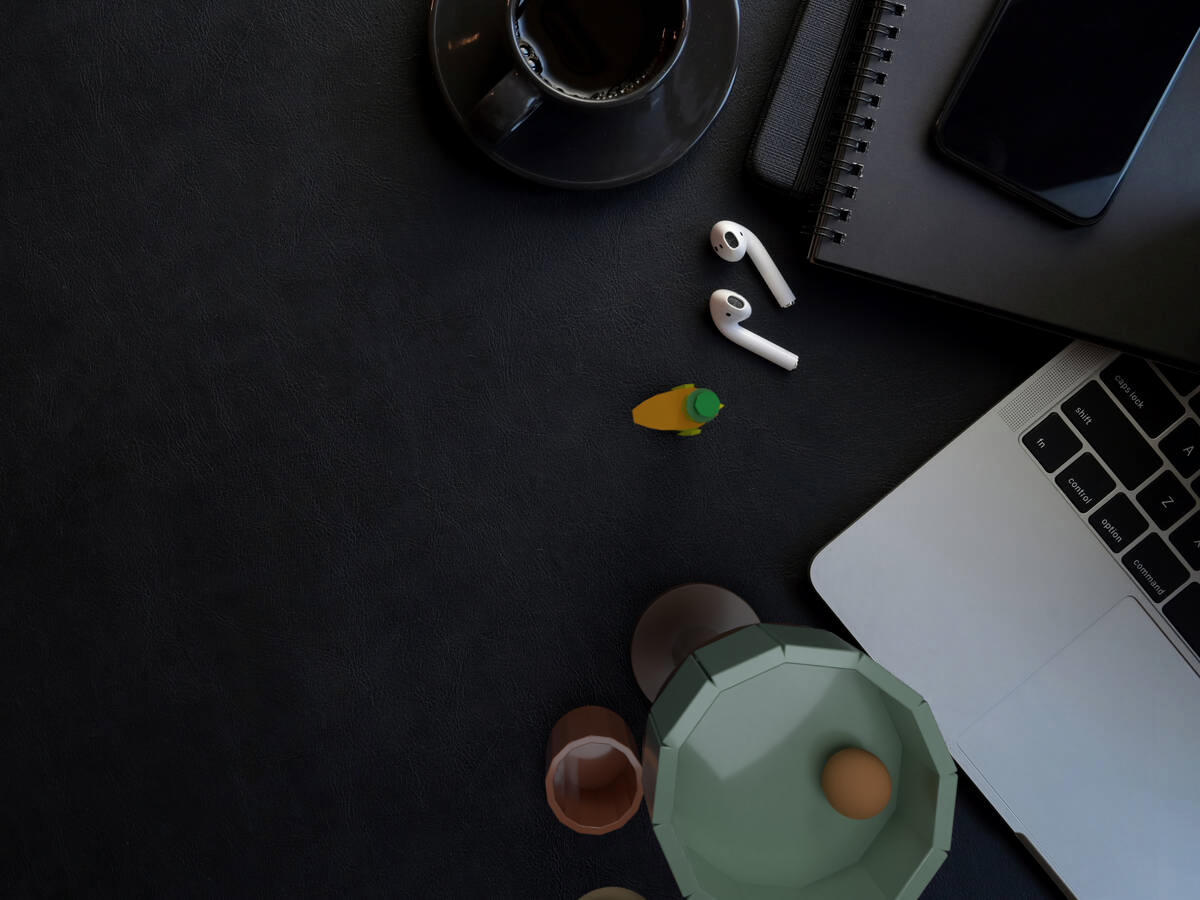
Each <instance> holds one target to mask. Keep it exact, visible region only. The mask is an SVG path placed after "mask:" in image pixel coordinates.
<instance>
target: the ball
mask: <svg viewBox="0 0 1200 900" xmlns="http://www.w3.org/2000/svg"><path fill="white" fill-rule="evenodd" d="M822 787H823V791H824V794H825V797H826V799H827V800H828V802H829V803H830V805H831V806H832V807H833V808H834V809H835V810H836V811H837V812H838V813H840V814H842V815H843V816H846V817H848V818H851V819H857V820H863V819H869V818H872V817H874V816H876V815H878V814H879V813H880V812H881V811H882V810H883V809H884V808H885V807H886V805H887V804H888V802H889V800H890V797H891V792H892V783H891V777H890V774H889V772H888V770H887V768H886V766H885V765H884V763H883V762H882V761H881V760H880V759H879V758H878V757H877V756H876V755H874V754H872V753H871V752H869V751H866V750H863V749H859V748H849V749H844V750H841V751H839V752H837V753H836V754H834V755H833V756H832V757H831V758H830V759H829V760H828V762H827V763H826V765H825V767H824V770H823V775H822Z"/></svg>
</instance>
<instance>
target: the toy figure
mask: <svg viewBox="0 0 1200 900" xmlns="http://www.w3.org/2000/svg"><path fill="white" fill-rule="evenodd" d="M724 406H725V405H724V404H723V403H721V400H720V399H719V397H718V395H717V394H716V393H715V392H714V391H713V390H712V389H709V388H705V387H703V388H702V387H700V388H697V387H695V384H694V383H686V384H681V385H678V386H675V387H673V388H671V389H670V391H666V392H663V393H658V394H656V395H654V396H652V397H650V398H648V399H646V400H644V401H643V402H641V403H640V404H639V405H637V406H636V407H634V408H633V409H632V420H633V423H634V424H637V425H640V426H642V427H645V428H650V429H654V430H660V431H677V432H678V433H677V436H682V437H686V436H688V437H689V436H697V435H699V434H701V432H702V431H701V429H700V427H702V426H703V425H706V423H708V422H711V421H712V420H714V419H715V418H717V416H719V412H720V410H721V409H722V408H724Z"/></svg>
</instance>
